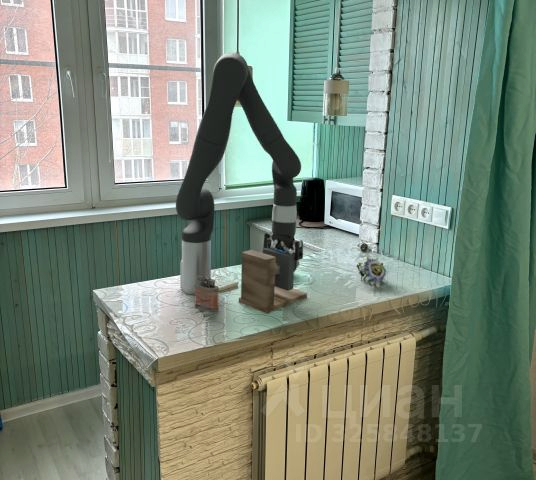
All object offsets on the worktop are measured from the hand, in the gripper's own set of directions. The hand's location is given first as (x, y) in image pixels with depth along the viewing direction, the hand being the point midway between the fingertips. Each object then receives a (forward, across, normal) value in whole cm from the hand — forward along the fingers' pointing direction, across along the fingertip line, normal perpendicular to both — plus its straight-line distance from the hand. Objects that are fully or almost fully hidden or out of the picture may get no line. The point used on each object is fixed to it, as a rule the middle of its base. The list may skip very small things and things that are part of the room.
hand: (281, 268), depth 166 cm
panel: (+5, 0, -2) cm, 6 cm away
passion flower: (+10, +14, +32) cm, 36 cm away
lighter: (+10, -9, -24) cm, 27 cm away
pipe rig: (+10, 0, -4) cm, 10 cm away
